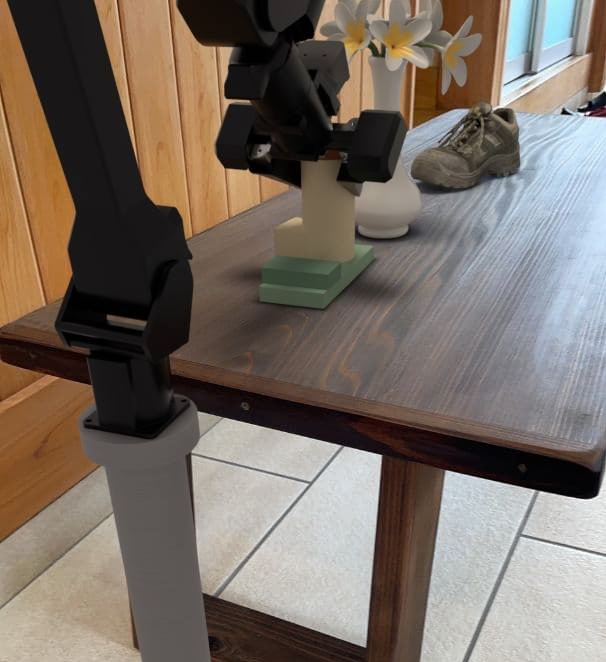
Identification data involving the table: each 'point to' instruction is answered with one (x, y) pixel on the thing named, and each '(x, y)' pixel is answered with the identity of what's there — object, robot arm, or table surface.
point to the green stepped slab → (310, 278)
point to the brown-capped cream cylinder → (320, 216)
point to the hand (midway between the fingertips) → (333, 189)
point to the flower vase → (396, 89)
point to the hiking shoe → (472, 149)
